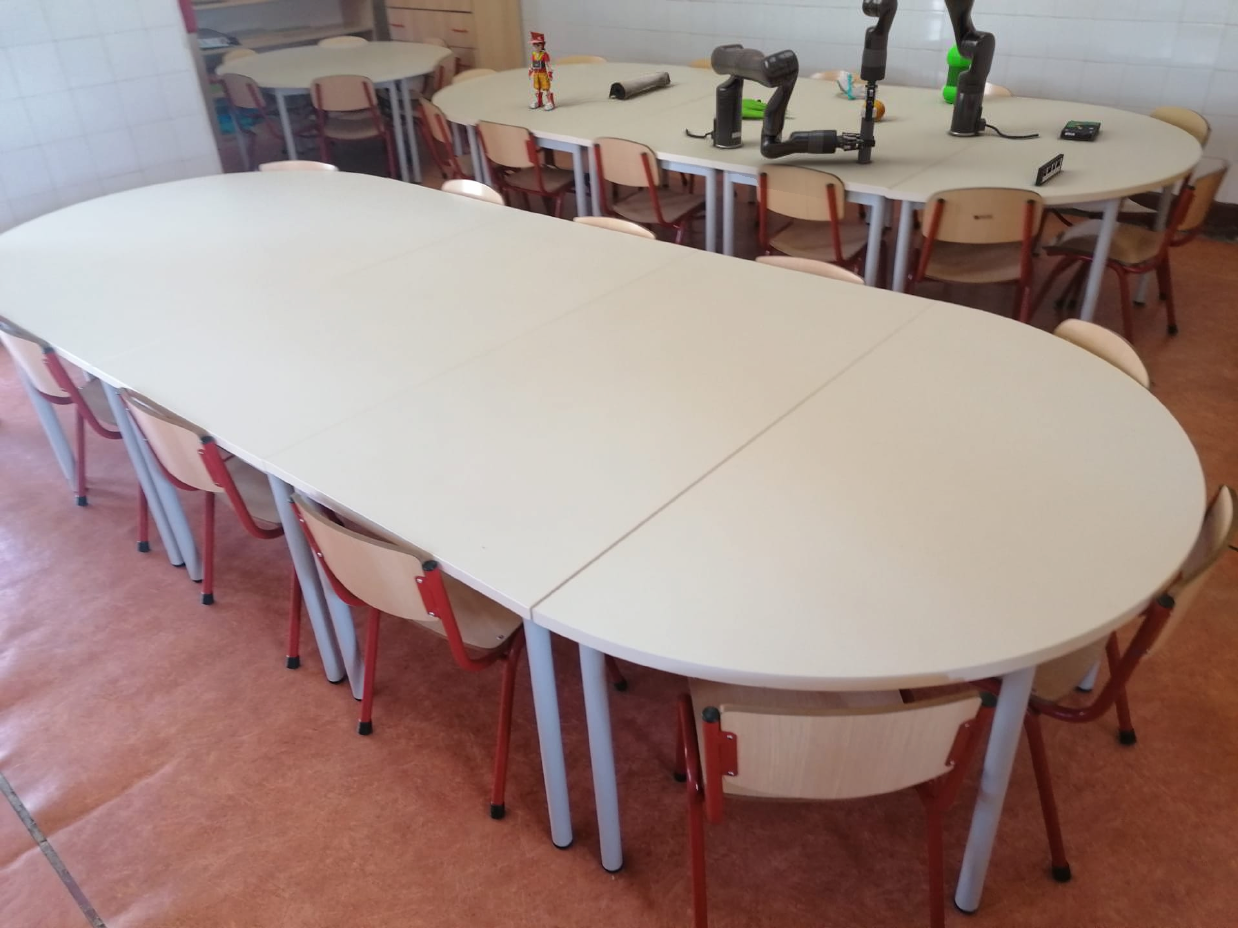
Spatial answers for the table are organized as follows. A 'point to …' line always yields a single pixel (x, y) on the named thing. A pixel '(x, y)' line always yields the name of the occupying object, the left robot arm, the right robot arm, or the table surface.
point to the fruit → (878, 109)
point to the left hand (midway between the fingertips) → (874, 141)
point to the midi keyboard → (1049, 169)
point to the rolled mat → (638, 84)
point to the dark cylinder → (866, 134)
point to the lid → (865, 111)
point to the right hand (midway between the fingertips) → (868, 118)
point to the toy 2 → (754, 108)
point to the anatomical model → (849, 86)
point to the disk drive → (1080, 130)
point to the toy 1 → (541, 71)
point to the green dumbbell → (954, 73)
